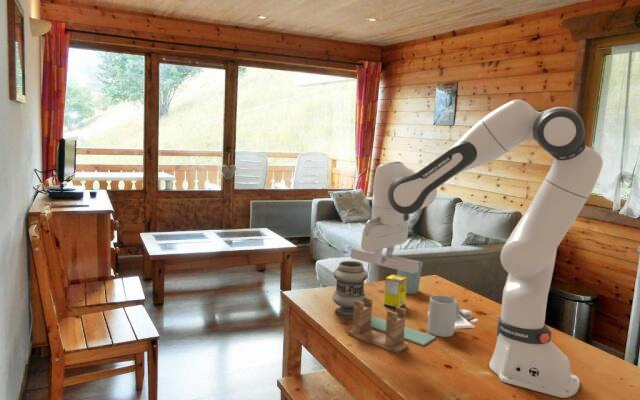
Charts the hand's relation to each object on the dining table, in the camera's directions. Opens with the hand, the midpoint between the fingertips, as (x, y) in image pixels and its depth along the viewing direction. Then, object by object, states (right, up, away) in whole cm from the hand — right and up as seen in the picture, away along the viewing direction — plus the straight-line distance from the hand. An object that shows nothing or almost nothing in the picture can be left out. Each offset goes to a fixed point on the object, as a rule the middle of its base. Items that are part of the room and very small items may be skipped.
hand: (383, 261), depth 147 cm
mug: (+22, -25, +14) cm, 35 cm away
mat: (+6, -24, +11) cm, 27 cm away
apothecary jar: (-9, -22, +25) cm, 34 cm away
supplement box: (+9, -21, +35) cm, 42 cm away
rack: (-2, -25, +3) cm, 25 cm away
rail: (0, -1, 0) cm, 1 cm away
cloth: (+29, -24, +27) cm, 46 cm away
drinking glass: (+17, -19, +54) cm, 60 cm away
